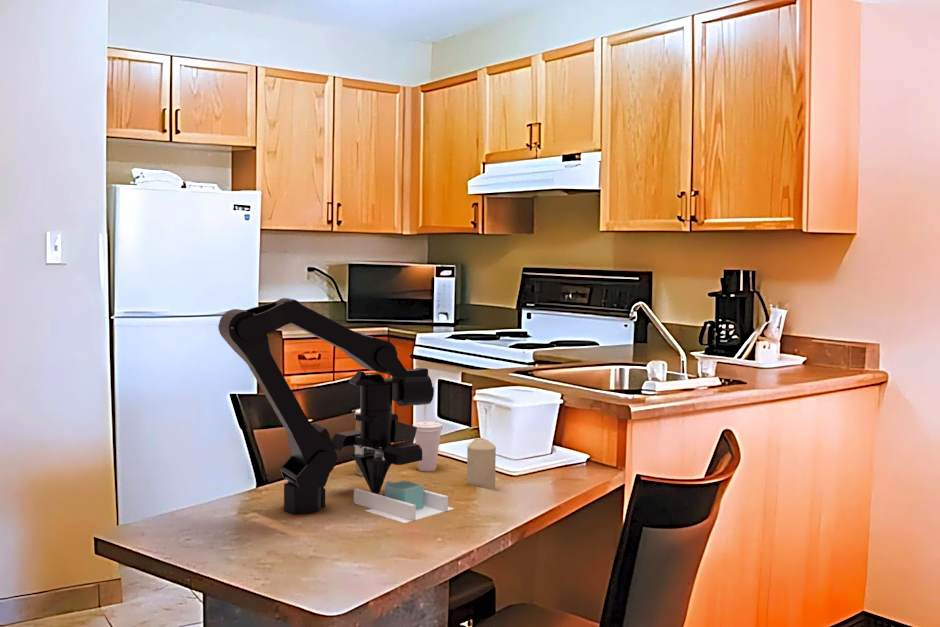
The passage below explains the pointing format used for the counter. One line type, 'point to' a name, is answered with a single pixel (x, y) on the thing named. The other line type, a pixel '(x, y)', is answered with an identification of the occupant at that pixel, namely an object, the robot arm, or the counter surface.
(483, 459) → the tan upright block
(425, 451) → the smoothie
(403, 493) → the block
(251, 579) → the counter surface
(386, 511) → the trough
